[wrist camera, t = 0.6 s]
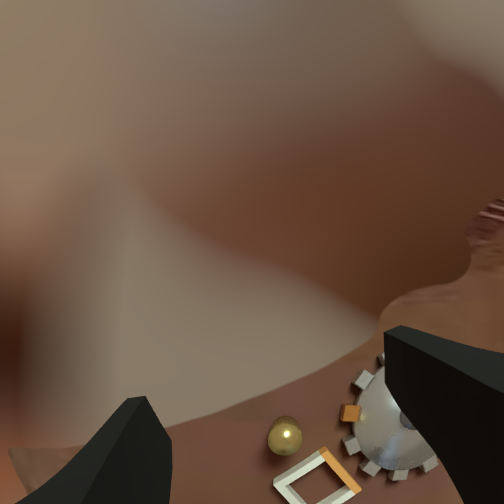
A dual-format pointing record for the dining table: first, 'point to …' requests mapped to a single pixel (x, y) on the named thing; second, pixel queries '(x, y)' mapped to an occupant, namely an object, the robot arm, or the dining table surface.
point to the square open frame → (283, 480)
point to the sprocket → (383, 430)
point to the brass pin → (285, 436)
